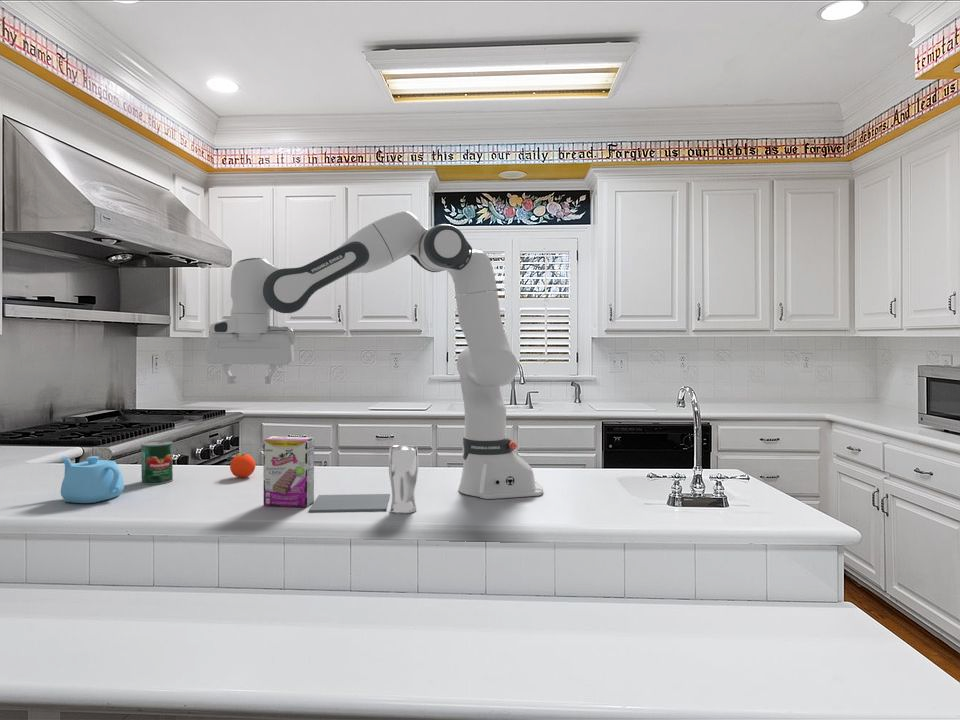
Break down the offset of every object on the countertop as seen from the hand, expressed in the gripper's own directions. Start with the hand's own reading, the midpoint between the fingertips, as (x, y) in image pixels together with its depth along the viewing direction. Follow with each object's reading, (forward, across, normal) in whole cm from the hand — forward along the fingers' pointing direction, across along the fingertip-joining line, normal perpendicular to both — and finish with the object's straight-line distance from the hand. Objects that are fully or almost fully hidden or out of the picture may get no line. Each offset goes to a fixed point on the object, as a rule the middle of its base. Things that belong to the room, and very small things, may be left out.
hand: (250, 383), depth 153 cm
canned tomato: (+30, +33, -27) cm, 52 cm away
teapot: (+30, +42, -9) cm, 52 cm away
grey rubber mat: (+29, -24, 0) cm, 38 cm away
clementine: (+30, +11, -31) cm, 44 cm away
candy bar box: (+30, -9, 0) cm, 31 cm away
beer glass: (+30, -37, +7) cm, 48 cm away
